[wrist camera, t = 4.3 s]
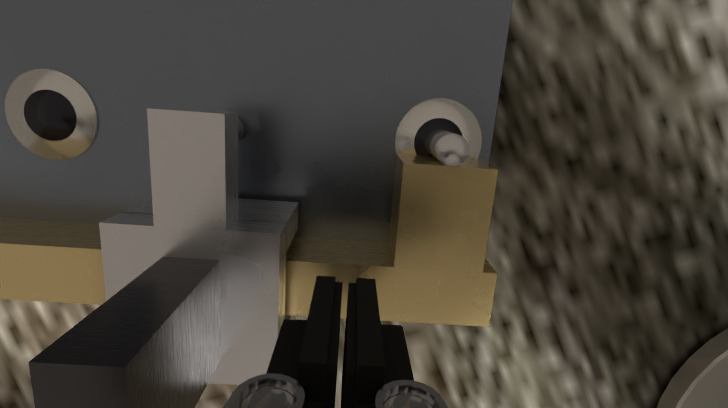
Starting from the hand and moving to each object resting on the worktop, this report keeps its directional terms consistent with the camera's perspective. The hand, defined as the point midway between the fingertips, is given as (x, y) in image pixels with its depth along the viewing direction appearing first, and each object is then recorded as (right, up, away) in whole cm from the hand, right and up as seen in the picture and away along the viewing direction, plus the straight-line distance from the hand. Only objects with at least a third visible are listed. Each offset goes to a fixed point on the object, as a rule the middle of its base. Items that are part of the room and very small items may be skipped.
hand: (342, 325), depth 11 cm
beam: (-6, +4, +4) cm, 8 cm away
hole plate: (-6, +6, +4) cm, 9 cm away
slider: (-4, +3, +4) cm, 6 cm away
